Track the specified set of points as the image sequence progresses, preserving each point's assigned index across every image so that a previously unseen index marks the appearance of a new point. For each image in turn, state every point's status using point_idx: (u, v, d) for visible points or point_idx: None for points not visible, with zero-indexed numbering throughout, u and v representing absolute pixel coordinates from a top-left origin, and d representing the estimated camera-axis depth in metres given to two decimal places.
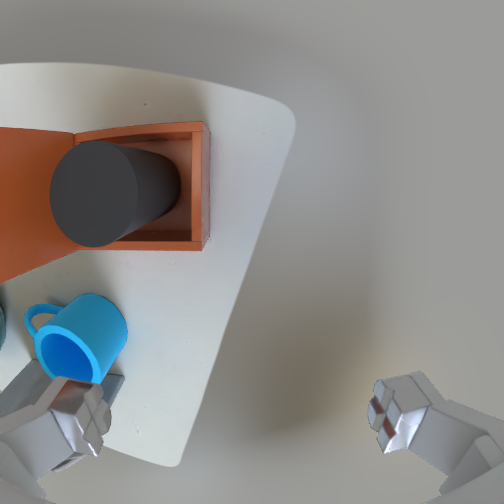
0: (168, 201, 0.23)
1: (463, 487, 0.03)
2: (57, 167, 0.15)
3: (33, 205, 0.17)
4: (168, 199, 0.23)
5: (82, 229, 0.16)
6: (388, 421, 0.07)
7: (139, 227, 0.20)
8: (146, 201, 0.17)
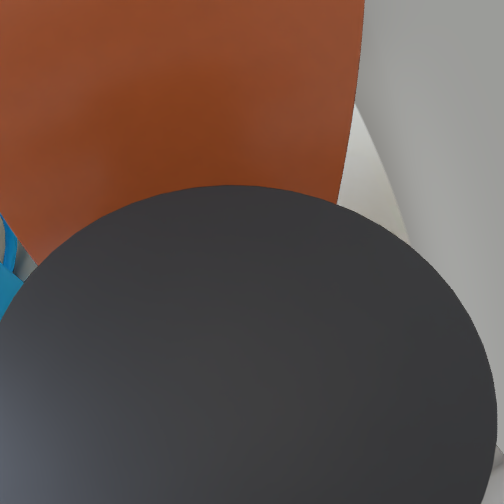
0: None
1: None
2: (318, 204, 0.04)
3: (142, 157, 0.07)
4: None
5: (29, 418, 0.02)
6: None
7: None
8: None
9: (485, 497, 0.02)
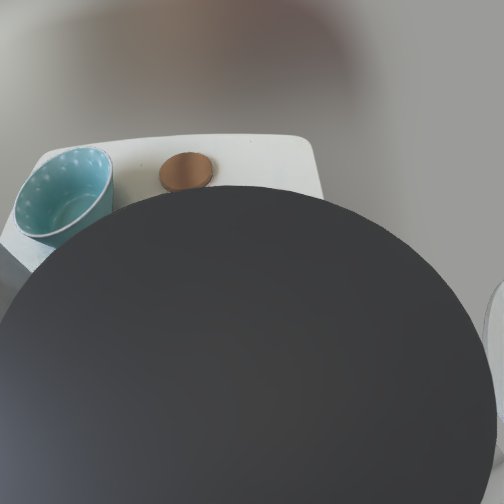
0: None
1: None
2: (318, 205, 0.04)
3: None
4: None
5: (30, 419, 0.02)
6: None
7: None
8: None
9: (485, 497, 0.02)
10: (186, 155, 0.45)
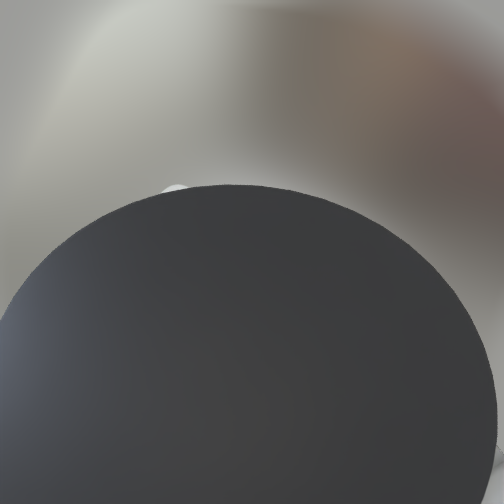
0: None
1: None
2: (319, 204, 0.04)
3: None
4: None
5: (29, 418, 0.02)
6: None
7: None
8: None
9: (485, 497, 0.02)
10: None
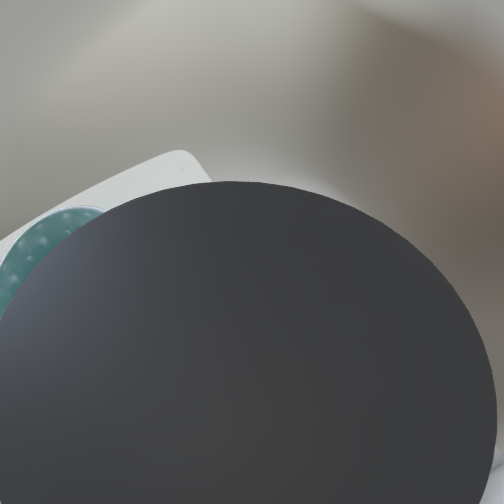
0: None
1: None
2: (318, 200, 0.04)
3: None
4: None
5: (31, 413, 0.02)
6: None
7: None
8: None
9: (485, 497, 0.02)
10: None
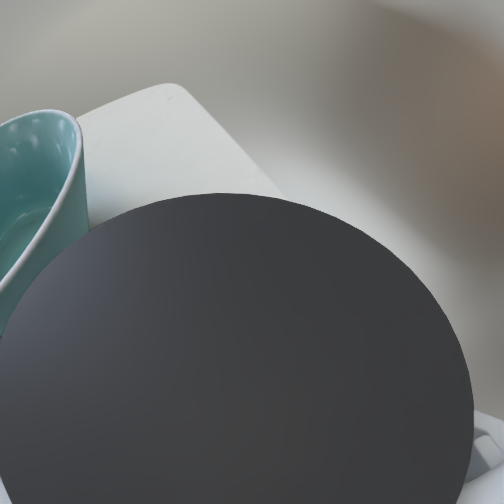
0: None
1: (463, 487, 0.03)
2: (302, 211, 0.04)
3: None
4: None
5: (37, 407, 0.02)
6: None
7: None
8: None
9: (485, 497, 0.02)
10: None
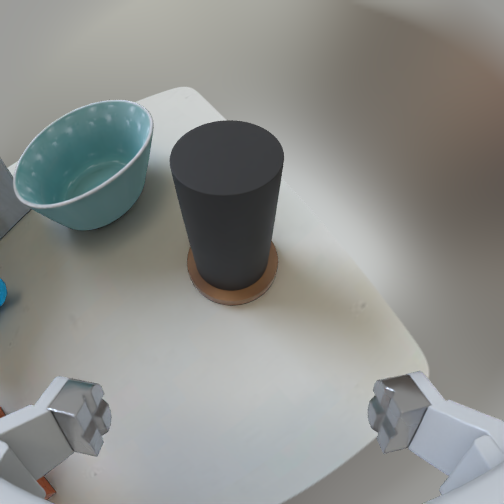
0: (224, 268, 0.21)
1: (463, 487, 0.03)
2: (245, 123, 0.18)
3: None
4: (227, 267, 0.21)
5: (188, 152, 0.16)
6: (388, 421, 0.07)
7: (193, 229, 0.18)
8: (229, 215, 0.16)
9: (485, 497, 0.02)
10: None
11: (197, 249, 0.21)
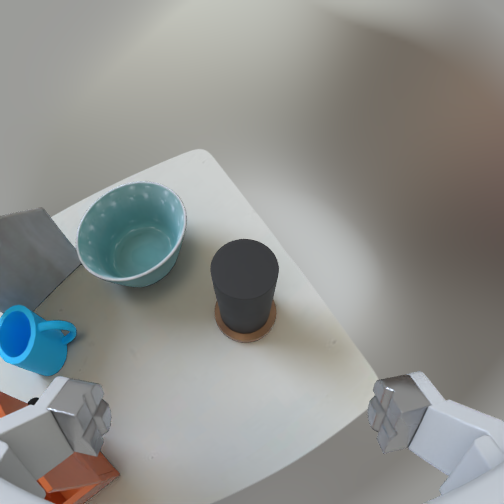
0: (241, 324, 0.34)
1: (463, 487, 0.03)
2: (255, 241, 0.30)
3: None
4: (243, 324, 0.33)
5: (221, 266, 0.28)
6: (388, 421, 0.07)
7: (224, 306, 0.31)
8: (246, 305, 0.28)
9: (485, 497, 0.02)
10: None
11: (225, 314, 0.33)
